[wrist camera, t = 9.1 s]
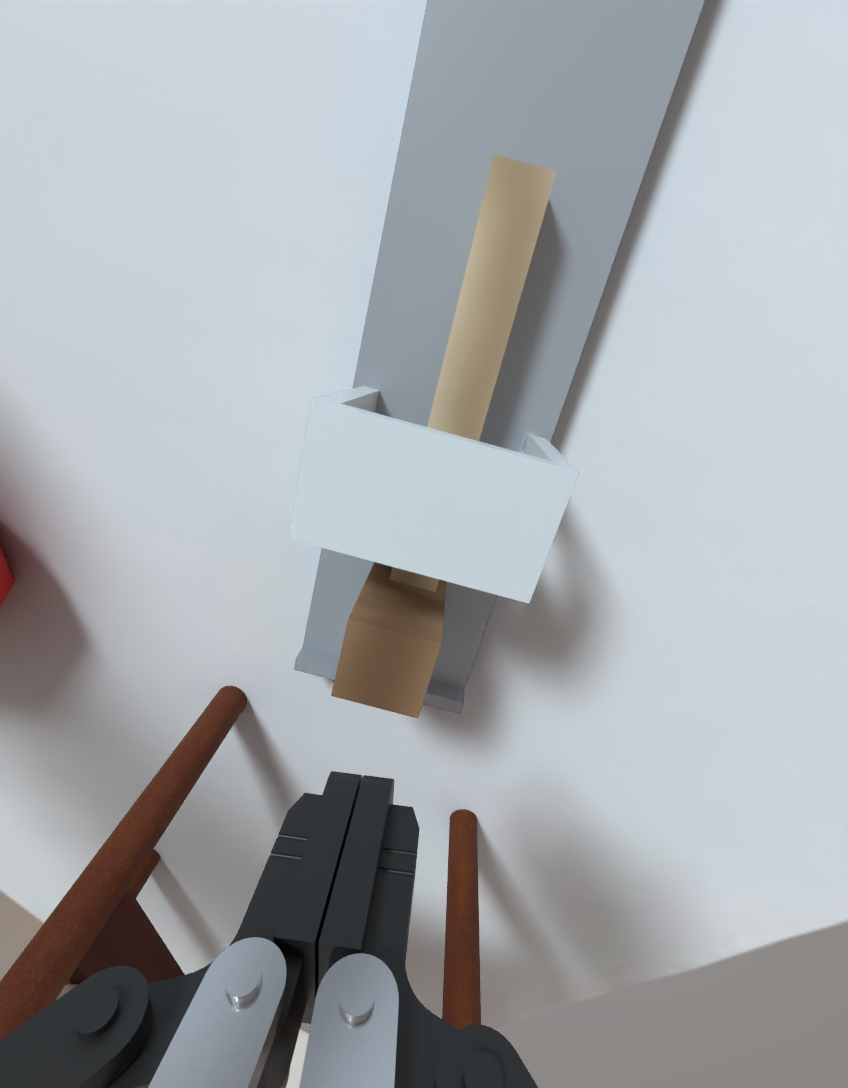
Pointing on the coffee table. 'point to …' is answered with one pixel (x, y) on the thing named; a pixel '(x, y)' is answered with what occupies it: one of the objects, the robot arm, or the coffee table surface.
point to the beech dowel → (487, 304)
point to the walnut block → (390, 644)
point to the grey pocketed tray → (432, 295)
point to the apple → (5, 577)
